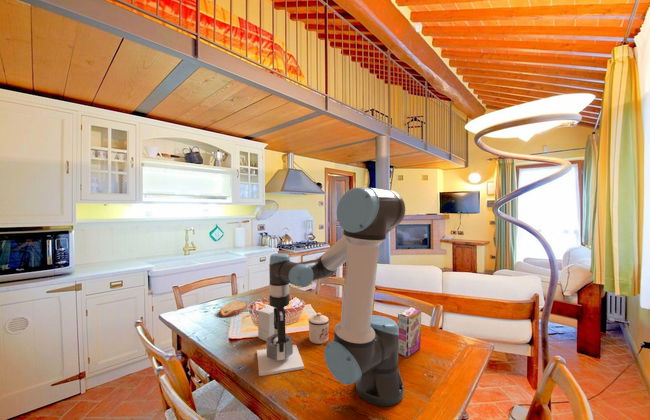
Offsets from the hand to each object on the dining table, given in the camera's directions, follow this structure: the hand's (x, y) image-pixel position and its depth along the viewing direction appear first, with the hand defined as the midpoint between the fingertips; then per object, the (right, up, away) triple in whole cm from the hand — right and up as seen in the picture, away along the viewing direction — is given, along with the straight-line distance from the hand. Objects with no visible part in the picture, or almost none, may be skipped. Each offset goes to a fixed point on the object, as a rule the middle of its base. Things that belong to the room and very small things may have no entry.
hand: (279, 352), depth 106 cm
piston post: (0, -3, 0) cm, 3 cm away
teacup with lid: (+16, -3, +18) cm, 24 cm away
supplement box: (-8, -3, +19) cm, 20 cm away
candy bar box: (+52, -4, +7) cm, 53 cm away
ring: (0, 0, 0) cm, 0 cm away
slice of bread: (-35, -3, +51) cm, 62 cm away
